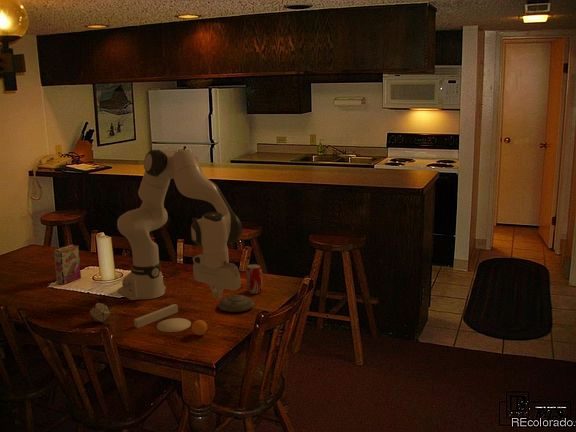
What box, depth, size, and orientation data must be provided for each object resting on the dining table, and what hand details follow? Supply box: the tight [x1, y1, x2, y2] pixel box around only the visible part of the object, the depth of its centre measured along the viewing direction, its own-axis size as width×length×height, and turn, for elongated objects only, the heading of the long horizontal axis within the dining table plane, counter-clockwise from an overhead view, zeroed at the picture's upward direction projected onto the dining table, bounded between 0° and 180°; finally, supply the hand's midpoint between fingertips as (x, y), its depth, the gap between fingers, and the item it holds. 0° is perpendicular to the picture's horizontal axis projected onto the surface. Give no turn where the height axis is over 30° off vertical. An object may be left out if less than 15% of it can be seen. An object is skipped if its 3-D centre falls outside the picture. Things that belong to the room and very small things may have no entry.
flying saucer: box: [217, 294, 255, 313], centre depth 242 cm, size 15×15×6 cm
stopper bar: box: [133, 303, 179, 329], centre depth 231 cm, size 2×20×3 cm, turn 141°
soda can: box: [245, 263, 263, 295], centre depth 259 cm, size 7×7×12 cm
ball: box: [191, 319, 208, 336], centre depth 216 cm, size 6×6×6 cm
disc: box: [156, 317, 192, 333], centre depth 226 cm, size 13×13×1 cm
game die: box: [87, 300, 114, 325], centre depth 229 cm, size 9×8×10 cm
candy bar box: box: [53, 244, 82, 286], centre depth 277 cm, size 11×5×16 cm, turn 154°
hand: (217, 297), depth 207 cm, fingers closed
